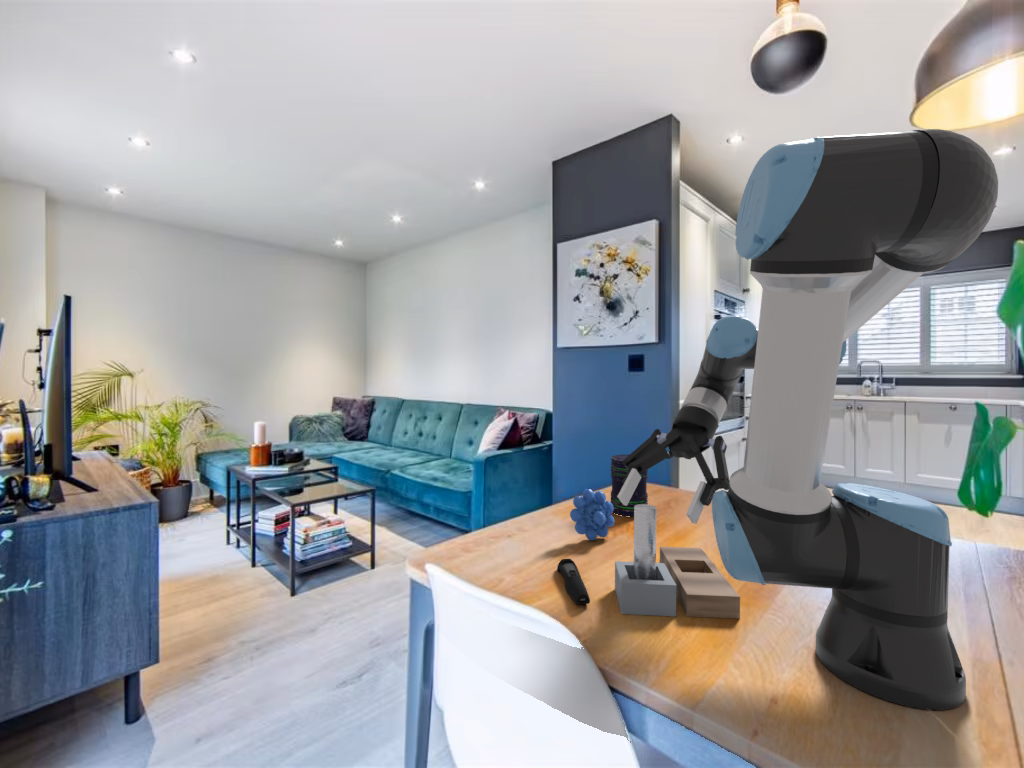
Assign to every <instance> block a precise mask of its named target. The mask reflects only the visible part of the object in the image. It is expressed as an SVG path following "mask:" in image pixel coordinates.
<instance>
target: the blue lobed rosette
mask: <svg viewBox="0 0 1024 768" xmlns="http://www.w3.org/2000/svg"><path fill="white" fill-rule="evenodd" d="M572 504H573V506H574V507H575V508H573V509H571V510H570V513H569V517H570V519H571V521H573V522H575V524H574V530H575V531H576V533H577V534H579V535H585V537H586V539H587V540H589V541H593V540H594V541H595V540H597V538H598V537H599V538H606V537H608V535H609V529H608V528H612V527H613V526H614V525H615V523H616V522H615V518H614V516H613V515H612V514H613V513H612V512H613V510H614V507H613V504H612V503H611V500H610V501H609V500H607V496H606V494H605V493H604V492H603V491H602V490H597V491H594V490H592V489H591V488H586V489H584V490H583V492H582V496H581V495H576V496H575V497H574V498H573V499H572Z"/></svg>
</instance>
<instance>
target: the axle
mask: <svg viewBox="0 0 1024 768" xmlns="http://www.w3.org/2000/svg"><path fill="white" fill-rule="evenodd" d="M657 508H658V507H657V506H656V505H653V504H648V505H647V504H638V505H635V506H634V518H633V562H634V571H633V580H656V563H657V521H658V520H657V518H658V517H657V516H658V515H657V511H658V509H657Z"/></svg>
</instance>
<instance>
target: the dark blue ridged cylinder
mask: <svg viewBox="0 0 1024 768" xmlns="http://www.w3.org/2000/svg"><path fill="white" fill-rule="evenodd" d="M629 455H630V454H616V455H612V456H611V457H610V459H611V462H610V463H611V464H610V477H611V491H610V502H611V503H612V504H613V507H614V510H613V513H615V514H618V515H622V516H630V517H634V506H635V505H638V504H647V505H649V503H648V502H649V500H648V497H649V494H648V492H647V489H648V487H647V480H648V477H649V474H648V473H649V469H647V470H646V471H644V472H642V473H640V476H641V479H640V481H639V483H638V485H637V487H636V489H635V491H634V493H633V495H632V497H631V499H630V501H629V503H628V505H627V506H626V505H623V504H622V502H621V501H620V500H619V498H618V497H617V496H618V494H619V492H620V490H621V489H622V487H623V485H624V484H623V483H622V482H623V479H624V477H625V475H626V473H627V471H628V470H627V468H626V467H625V465H624V464H623V460H624V459H625V458H626V457H627V456H629ZM637 468H638V467H637ZM613 513H612V514H613Z"/></svg>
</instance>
